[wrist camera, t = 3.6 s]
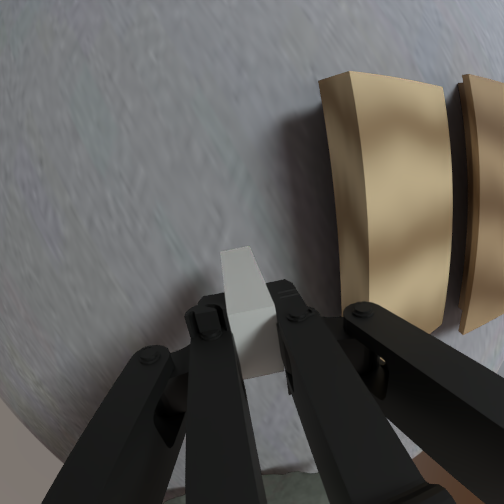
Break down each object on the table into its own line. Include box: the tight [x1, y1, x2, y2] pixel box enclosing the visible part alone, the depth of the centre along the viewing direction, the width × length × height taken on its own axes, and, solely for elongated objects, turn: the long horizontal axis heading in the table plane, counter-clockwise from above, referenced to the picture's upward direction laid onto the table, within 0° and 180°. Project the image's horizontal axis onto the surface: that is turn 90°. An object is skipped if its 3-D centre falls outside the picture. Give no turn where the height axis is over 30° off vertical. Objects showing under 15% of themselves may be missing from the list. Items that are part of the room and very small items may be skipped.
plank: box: [318, 71, 453, 362], centre depth 18 cm, size 18×9×5 cm, turn 9°
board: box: [458, 74, 504, 335], centre depth 19 cm, size 20×12×4 cm, turn 9°
